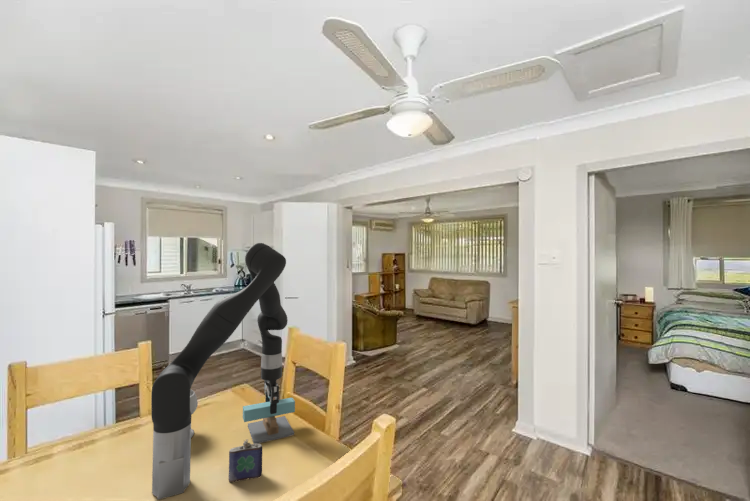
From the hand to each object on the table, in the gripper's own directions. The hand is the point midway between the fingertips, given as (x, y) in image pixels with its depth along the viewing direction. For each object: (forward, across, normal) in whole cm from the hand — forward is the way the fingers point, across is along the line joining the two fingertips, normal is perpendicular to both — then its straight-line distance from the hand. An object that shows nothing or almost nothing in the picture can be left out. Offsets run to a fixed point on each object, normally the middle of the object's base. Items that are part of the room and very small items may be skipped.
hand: (270, 408), depth 129 cm
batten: (+2, 0, 0) cm, 2 cm away
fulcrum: (+8, 0, 0) cm, 8 cm away
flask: (+8, -24, +12) cm, 28 cm away
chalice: (+8, +10, +31) cm, 34 cm away
